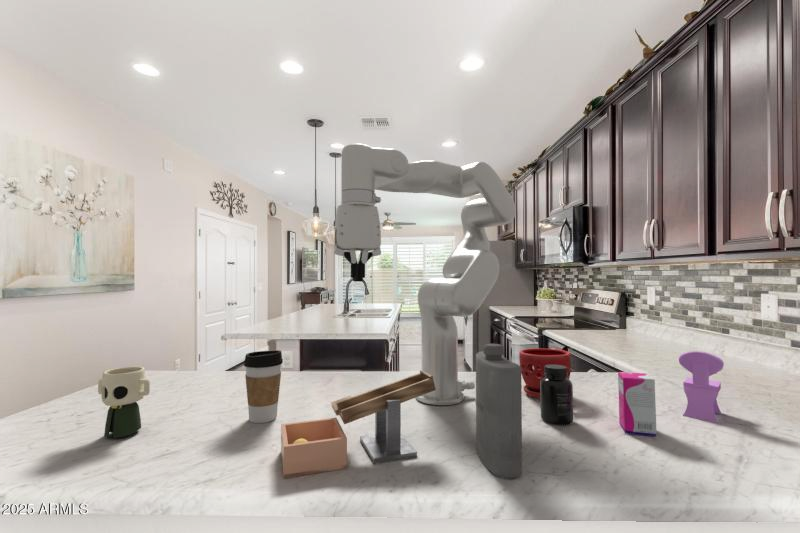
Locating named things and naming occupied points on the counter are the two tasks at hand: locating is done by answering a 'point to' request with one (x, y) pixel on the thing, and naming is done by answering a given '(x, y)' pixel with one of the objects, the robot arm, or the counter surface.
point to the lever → (383, 397)
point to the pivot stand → (388, 436)
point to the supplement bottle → (556, 396)
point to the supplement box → (637, 403)
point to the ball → (300, 441)
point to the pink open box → (313, 447)
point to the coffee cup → (263, 384)
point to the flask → (498, 412)
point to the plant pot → (540, 366)
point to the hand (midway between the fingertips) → (357, 281)
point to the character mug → (123, 399)
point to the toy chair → (701, 384)
